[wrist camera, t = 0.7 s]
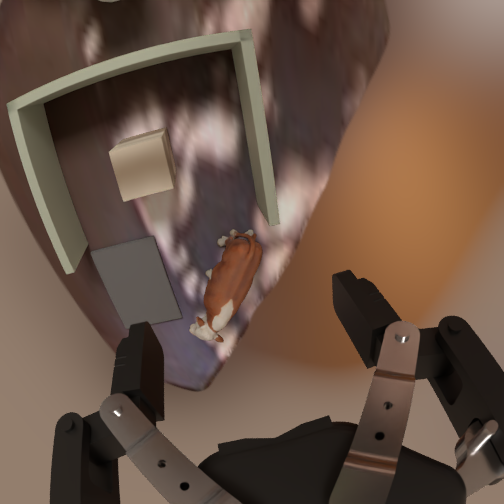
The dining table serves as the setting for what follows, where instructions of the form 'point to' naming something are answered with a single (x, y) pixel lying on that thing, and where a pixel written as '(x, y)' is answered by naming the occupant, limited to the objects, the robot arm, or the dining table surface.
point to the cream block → (144, 164)
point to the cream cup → (108, 0)
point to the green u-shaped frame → (32, 104)
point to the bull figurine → (228, 284)
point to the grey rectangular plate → (137, 282)
